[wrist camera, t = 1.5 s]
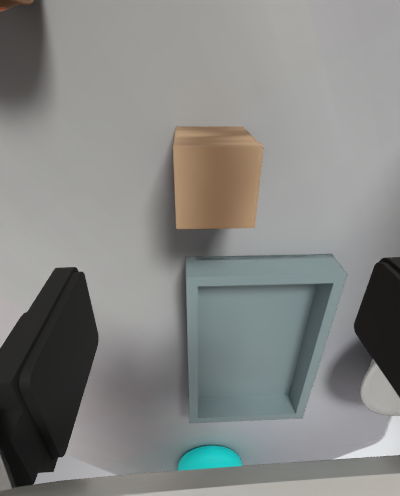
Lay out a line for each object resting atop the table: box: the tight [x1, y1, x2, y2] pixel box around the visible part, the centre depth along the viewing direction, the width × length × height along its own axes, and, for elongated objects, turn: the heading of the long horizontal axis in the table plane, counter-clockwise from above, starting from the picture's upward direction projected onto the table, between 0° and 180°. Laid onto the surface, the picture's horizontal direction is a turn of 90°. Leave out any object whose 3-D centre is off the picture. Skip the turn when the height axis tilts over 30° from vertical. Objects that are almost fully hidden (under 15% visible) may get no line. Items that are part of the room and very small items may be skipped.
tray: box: [186, 254, 347, 423], centre depth 33 cm, size 14×22×3 cm, turn 0°
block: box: [173, 127, 263, 229], centre depth 21 cm, size 5×5×7 cm
